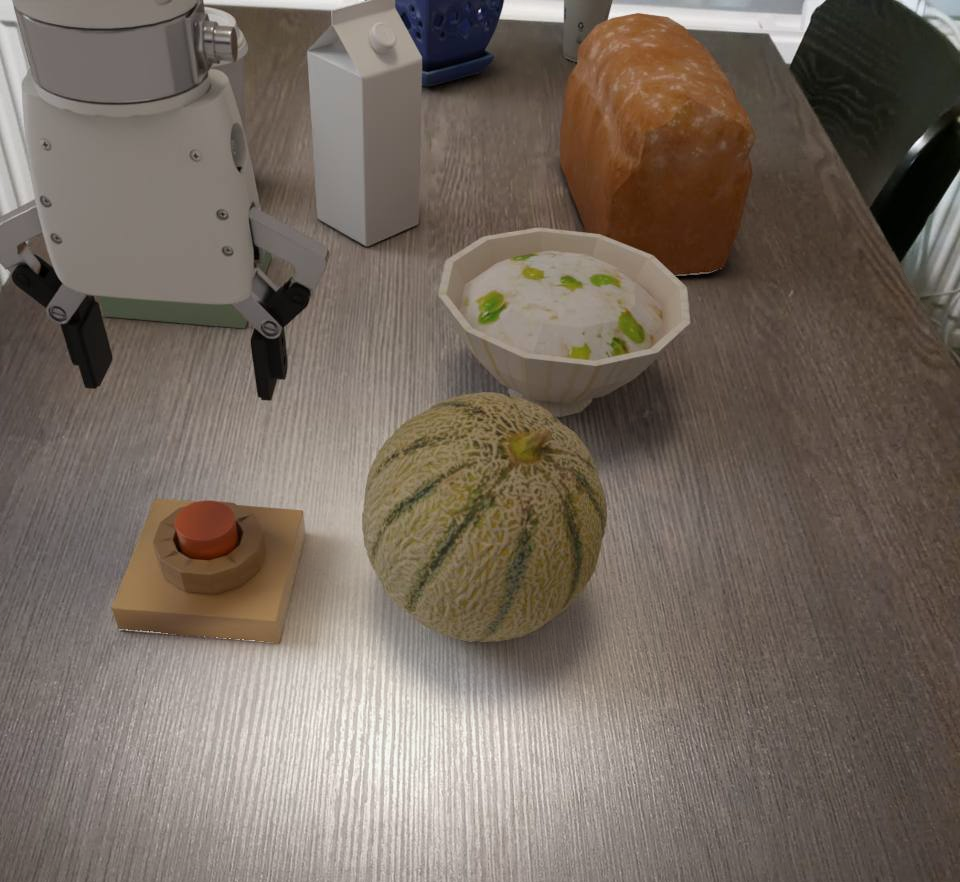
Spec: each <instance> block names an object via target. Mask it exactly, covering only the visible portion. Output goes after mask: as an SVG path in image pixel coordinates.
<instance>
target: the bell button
mask: <svg viewBox="0 0 960 882" xmlns="http://www.w3.org/2000/svg"><path fill="white" fill-rule="evenodd" d="M217 501H218V500H217ZM217 501H216V500H199V501H195V503H192V504H189V505H188V506H186V507H184V508H183V509H182V510H181V511H180V512H179V513H178V514H177V516H176V519H175V528H176V532H177V536H178V541H179V545H180V548H181V550H182V551H183V552H184V553H185V554H186V555H187V556H189V557H191V558H193V559H197V560H212V559H216V558H219V557H223V556H226V555H228V554H229V553H230V552H232V551H233V550H234V548H235V547H236V545H237V543H238V532H237V527H236V521H235V515H234V513H233V511H232V510H231V509H230V508H229V507H228V506H227V505H225V504H223V503H221V502H222V501H219V502H217Z"/></svg>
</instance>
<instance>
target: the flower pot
mask: <svg viewBox="0 0 960 882" xmlns="http://www.w3.org/2000/svg"><path fill="white" fill-rule="evenodd" d="M364 1H366V0H364ZM504 4H505V0H395V8H396V10H397V12H398V14H399V16H400V17H401V19H402V21H403V23H404V25H405V27H406V29H407V30H408V32H409V34H410V36H411V38H412V40H413V41H414V43H415V45H416V47H417V49H418V51H419V52H420V54H421V56H422V87H425V86H426V87H427V88H429V86H431V87H433V86H437V85H440V84H444V83H449V82H453V81H455V80H460V79H463V78H466V77H470V76H474V75H473V74H476V75H478V74H479V73H480V74H481V72H483V71H485V70H486V69H487V68H488V67H489V66H490V65H491V64H492V63H493V61H494V59H495V55H494V53H492V52H490V51H488V50H486V49H487V47H488V46H489V44H490V42H491V40H492V38H493V37H494V34H495V32H496V29H497V26H498V24H499V21H500V18H501V15H502V11H503V8H504ZM477 73H478V74H477Z"/></svg>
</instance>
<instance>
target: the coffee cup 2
mask: <svg viewBox="0 0 960 882" xmlns="http://www.w3.org/2000/svg"><path fill="white" fill-rule="evenodd" d="M613 1H614V0H563V35H562V37H563V39H562V42H563V43H562V56H563V55H564V57H565V58H567V59H570V60H573V61H577V59H578V47H579V46H580V45H581V43H582V42H583V41H584V40H585V38H586V37H587V36H588V35H589V34H590V32H591V31H592V30H593V29H594V27H595V26H596V25H598V24H600V23H602V22H605V21H607V20H609V17H610V13H611V9H612V4H613ZM564 57H563V58H564ZM565 58H564V59H565Z"/></svg>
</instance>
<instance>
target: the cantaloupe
mask: <svg viewBox="0 0 960 882" xmlns="http://www.w3.org/2000/svg"><path fill="white" fill-rule="evenodd" d="M603 486H604V485H603V484H602V482H601V479H600V477H599V472H598V469H597V466H596V463H595V461H594V459H593V457H592V455H591V453H590V451H589V449H588V447H587V446H586V445H585V444H584V442H582V440H581V439H580V437H579V435H578V434H577V433H576V432H574V430H572V429H570V428H569V427H568V426H566V425H565V424H564V423H562V422H561V421H560V420H559V419H558V417H556V416H553V415H552V414H551V413H550V412H549V411H548V410H546V409H544V408H543V407H541V406H539V405H536V404H534V403H531V402H529V401H527V400H525V399H520V398H516V397H513V396H511V395H506V394H504V393H499V392H494V391H493V392H492V391H491V392H490V391H488V392H483V391H482V392H481V391H480V392H474V393H466V394H461V395H457V396H451V397H449V398H447V399H444V400H442V401H439V402H437V403H436V404H433V405H432V406H431V407H430V408H429V409H426V410H425V411H422V412H420V413H418V414H417V415H415V416H413V417H411V418H409V419H408V420H406V421H405V422H403V423H402V424H401V425H400V426H399V427H398V428H396V429H395V431H394V433H393V434H392V435H391V436H390V437H389V438H387V439H386V440H385V441H384V443H383V444H382V446H381V448H380V449H379V451H378V453H377V454H376V457H375V458H374V459H373V461H372V464H371V465H370V469H369V472H368V473H367V478H366V483H365V487H364V488H365V489H364V496H363V498H364V500H363V501H364V502H363V510H362V514H361V525H362V526H361V529H362V530H361V531H362V534H363V545H364V548H365V550H366V556H367V558H368V560H369V563H370V565H371V567H372V569H373V570H374V572H375V574H376V576H377V578H378V580H379V582H380V585H381V588H383V590H384V591H385V593H386V594H387V596H388V597H389V599H391V600H392V601H393V602H394V603H395V604H396V605H397V606H398V607H399V608H400V609H401V610H402V611H404V612H406V613H408V614H409V615H411V616H412V617H413V618H414V619H415V620H416V621H418V622H419V623H420V624H422V625H423V626H424V627H426V628H428V629H430V630H431V631H434V632H435V633H437V634H440V635H442V636H444V637H447V638H450V639H453V640H461V641H465V642H475V641H476V642H479V643H488V642H497V643H498V642H503V641H509V640H512V639H513V640H514V639H517V638H521V637H524V636H526V635H528V634H530V633H534V632H535V631H538V630H539V629H540V628H542V627H543V626H544V625H546V624H547V623H548V622H550V621H551V620H553V619H554V618H555V617H556V616H559V615H560V614H562V613H563V612H564V611H565V610H566V609H567V608H569V607H570V606H571V605H572V604H573V602H574V601H575V600H576V599H577V598H579V596H580V594H581V593H582V592H583V591H584V589H585V588H586V586H587V585H588V583H589V582H590V580H591V578H592V577H593V575H594V573H595V571H596V568H597V565H598V561H599V557H600V553H601V548H602V544H603V543H602V542H603V538H604V536H605V535H606V527H607V520H608V507H607V504H608V503H607V498H606V494H605V490H604V487H603Z"/></svg>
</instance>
